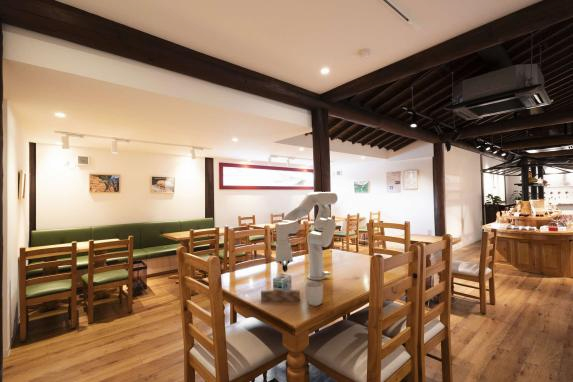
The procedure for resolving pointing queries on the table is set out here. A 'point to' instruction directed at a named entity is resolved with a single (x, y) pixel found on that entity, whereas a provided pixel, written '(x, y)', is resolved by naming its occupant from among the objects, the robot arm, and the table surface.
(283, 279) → the light bulb box
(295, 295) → the walnut board
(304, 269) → the table surface
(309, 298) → the mug
